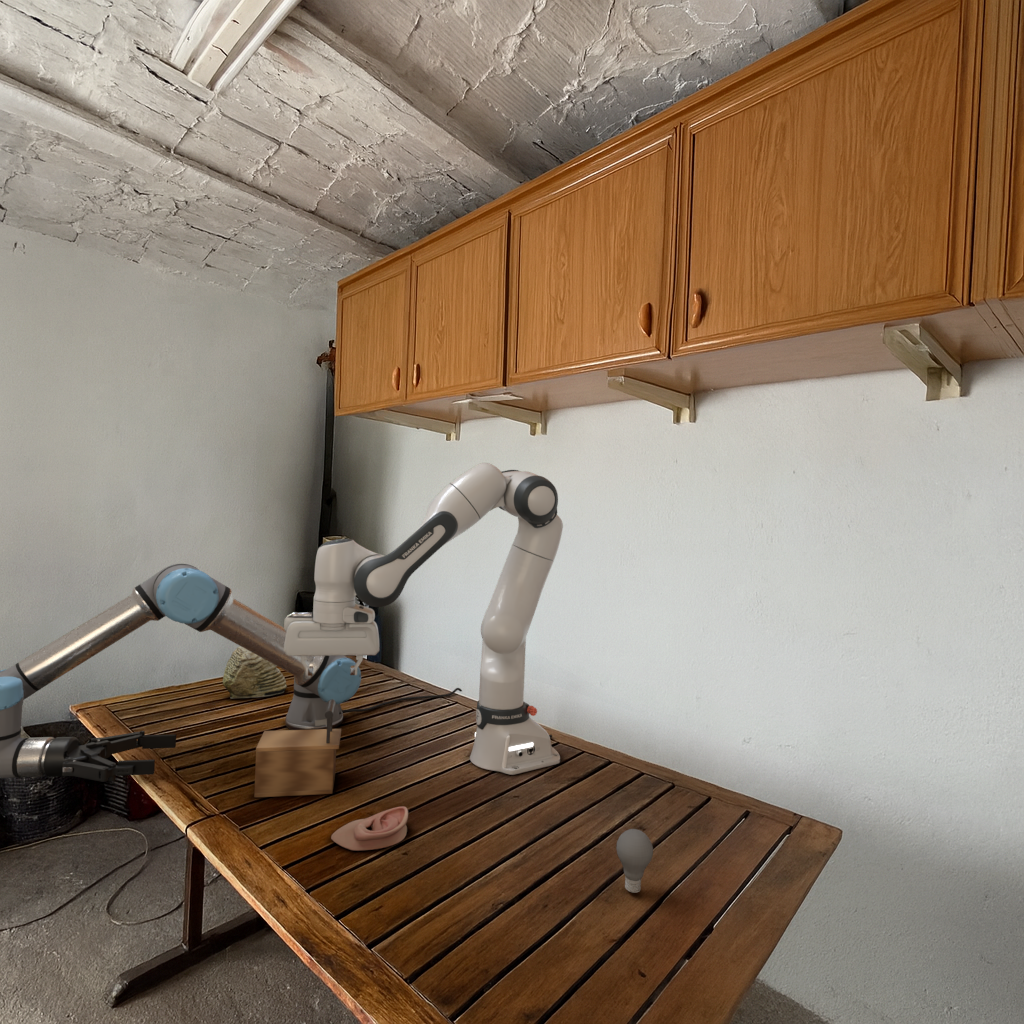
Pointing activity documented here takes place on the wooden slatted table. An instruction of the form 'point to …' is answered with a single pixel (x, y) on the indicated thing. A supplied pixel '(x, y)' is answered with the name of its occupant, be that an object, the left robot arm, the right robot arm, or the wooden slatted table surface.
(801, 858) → the wooden slatted table surface
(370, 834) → the anatomical model
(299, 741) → the lid
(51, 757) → the left robot arm
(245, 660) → the fossil
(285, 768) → the chest
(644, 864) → the light bulb
